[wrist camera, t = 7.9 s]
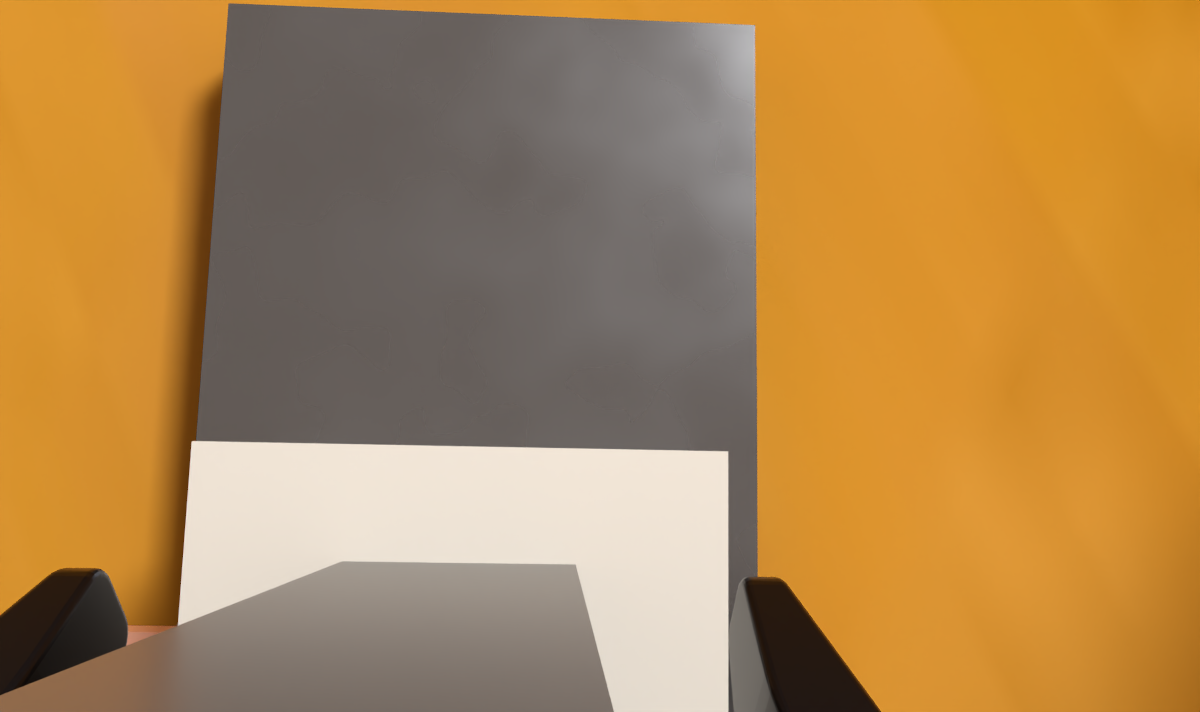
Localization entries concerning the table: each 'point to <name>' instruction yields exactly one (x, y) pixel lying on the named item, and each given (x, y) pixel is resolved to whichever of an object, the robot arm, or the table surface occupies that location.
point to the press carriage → (432, 585)
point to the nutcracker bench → (487, 237)
